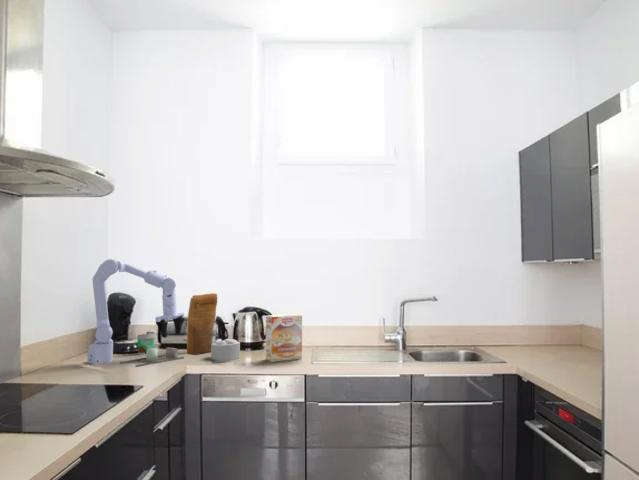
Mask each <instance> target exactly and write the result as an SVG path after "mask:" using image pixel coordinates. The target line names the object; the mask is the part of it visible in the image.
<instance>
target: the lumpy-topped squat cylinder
mask: <svg viewBox="0 0 639 480" xmlns="http://www.w3.org/2000/svg"><path fill="white" fill-rule="evenodd" d="M210 359H211V360H212V361H213V363H224V362H225V363H228V362H234V361H237V360H240V359H241V342H239V341H237V340H236V339H235V338H234V339H231V338H225V339H224V340H222V338H217V339H216V340H215V341H214V342H212V344H211V352H210Z"/></svg>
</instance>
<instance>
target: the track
mask: <svg viewBox="0 0 639 480" xmlns="http://www.w3.org/2000/svg"><path fill="white" fill-rule="evenodd" d="M165 356H166V353H165V354H159V355H158V358H159V357H165ZM182 359H185V357H184V356H177V358H172V359H166V360H160V361H155V362H149V363H144V362H142V363H139V364H135V367H137V368H139V367H144V366H149V365H155V364H161V363H166V362H172V361H177V360H182ZM141 360H146V357H139V358H135V359H130V360H129V359H128V360H122V361H120V362H119V364H128V363H129V364H130V363H134V362H139V361H141Z"/></svg>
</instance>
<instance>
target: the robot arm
mask: <svg viewBox="0 0 639 480" xmlns="http://www.w3.org/2000/svg"><path fill="white" fill-rule="evenodd" d="M117 272H118V273H128V274H132V275H133V276H136V277H139V278H142V279H143V280H144V283H146V284H148V285H151V286H153V287H156V288H160V289H162V295H161V298H162V312H163V315H161V316H156V317H155V325H156V326H157V327H158V330H159V332H160V334H161V337H162V338H164V339H165V338H167V337H168V333H167V332H168V323H169V322H168V321H170V320H172V321H173V324H174V331H175V334H176V335H181V332H182V328H183V324H184V321H185V319H186V318H185V312H179V313H178V312H177V311H178V310H177V297H176V286H177V285H176V282H175V280H174V279H173V278H170V277H168V276H167V275H164V274H162V273H161V274H160V273H159V272H157V270H149V271H145V270H143V269H141V268H138V267H136V266H133V265H131V264H129V263H127V262H123V261H118V260H115V259H112V258H111V259H110V258H109V259H106V260H104V261H103V262H102V263H101V264H99V267H98V268H97V270H96V271H95V274H94V276H93V277H92V287H93V295H94V296H93V297H94V305H95V317H96V332H95V334H94V335H95V341H94V342H93V343H91V344H89V345H88V347H87V360H86V361H87V363H88V364H93V365H96V364H98V365H99V364H105V363H106V364H107V363H112V362H113V361H114V360H113V359H114V358H113V357H114V340H113V339H112V336H113V335H114V334H113V333H114V331H113V328H112V326H111V325H110V320H109V312H108V302H107V293H106V283H105V282H106V281H107V280H108V279H109V278H110V277H111V276H112V275H114V274H116V273H117Z"/></svg>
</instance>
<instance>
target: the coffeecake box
mask: <svg viewBox="0 0 639 480" xmlns="http://www.w3.org/2000/svg"><path fill="white" fill-rule="evenodd" d="M265 316H266V317H265V360H267V361H268V362H273V363H274V362H283V361H294V360H295V361H296V360H302V359H303V315H301V314H297V313H293V314H292V313H290V314H288V313H287V314H271V315H270V314H269V315H265Z"/></svg>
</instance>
